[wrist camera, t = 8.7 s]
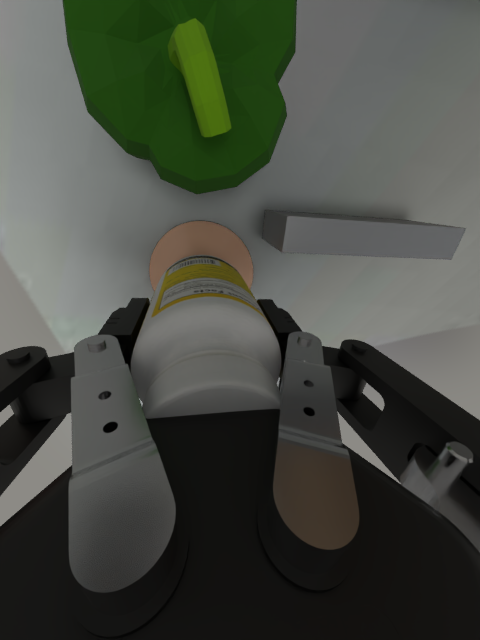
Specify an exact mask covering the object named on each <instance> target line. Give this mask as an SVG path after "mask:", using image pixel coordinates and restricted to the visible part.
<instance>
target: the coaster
mask: <svg viewBox="0 0 480 640" xmlns="http://www.w3.org/2000/svg"><path fill="white" fill-rule="evenodd" d="M193 255H210V256H214V257H218V258H220V259H222V260H224V261H226V262H228V263H229V264H231V265H232V266H233V267H234V268H235V269H236V270H237V271H238V272H239V274H240V275H241V276H242V278H243V279H244V281H245V283H246V284H247V286H248V288H249V289H250V288H251V285H252V280H253V264H252V260H251V257H250V254H249V252H248V250H247V248H246V246H245V245H244V243H243V242H242V241H241V239H240V238H239V237H238V236H237V235H236V234H235V233H233V232H232V231H231V230H229V229H228V228H226V227H224V226H222V225H220V224H217V223H213V222H209V221H191V222H186V223H183V224H180V225H178V226H176V227H174V228H173V229H171V230H170V231H168V232H167V233H166V234H165V235H164V236H163V237H162V238H161V239H160V241H159V242H158V243H157V245H156V247H155V248H154V251H153V253H152V256H151V260H150V267H149V273H150V280H151V284H152V287H153V290H154V292H155V289H156V287H157V285H158V283H159V280H160V278H161V277H162V275H163V274H164V272H165V271H166V270H167V269H168V268H169V267H170V266H171V265H172V264H174V263H175V262H177V261H178V260H180V259H183V258H185V257H189V256H193Z"/></svg>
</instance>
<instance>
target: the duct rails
mask: <svg viewBox="0 0 480 640" xmlns="http://www.w3.org/2000/svg"><path fill="white" fill-rule="evenodd" d="M465 230H466V228H460V227H453V226H446V225H438V224H431V223H424V222H416V221H409V220H397V219H383V218H370V217H356V216H342V215H328V214H314V213H301V212H287V211H273V210H265V216H264V225H263V235H262V239H264V240H265V241H267V242H268V243H269V244H271V245H272V246H274V247H275V248H276V249H278V250H279V251H280V252H282V253H303V254H327V255H351V256H375V257H399V258H423V259H447V260H451V259H452V257H453V255H454V253H455V251H456V249H457V247H458V245H459V243H460V241H461V238H462V236H463V234H464V232H465Z"/></svg>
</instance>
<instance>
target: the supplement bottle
mask: <svg viewBox="0 0 480 640" xmlns="http://www.w3.org/2000/svg"><path fill="white" fill-rule="evenodd" d="M280 370H281V352H280V347H279V343H278V340H277V338H276V336H275V333H274V331H273V329H272V327H271V325H270V324H269V322H268V320H267V319H266V317H265V315H264V314H263V312H262V310H261V308H260V307H259V305H258V303H257V301H256V300H255V298H254V296H253V295H252V293H251V291H250V289H249V288H248V286H247V284H246V283H245V281H244V279H243V278H242V276H241V275H240V274H239V272H238V271H237V270H236V269H235V268H234V267H233V266H232V265H231V264H229V263H228V262H226V261H224V260H222V259H220V258H218V257H214V256H210V255H193V256H189V257H185V258H183V259H180V260H178V261H177V262H175V263H174V264H172V265H171V266H170V267H169V268H168V269H167V270H166V271H165V272H164V274H163V275H162V277H161V278H160V280H159V283H158V285H157V287H156V289H155V292H154V295H153V298H152V300H151V303H150V305H149V308H148V311H147V313H146V316H145V319H144V321H143V324H142V327H141V329H140V332H139V335H138V337H137V340H136V343H135V346H134V349H133V353H132V358H131V369H130V371H131V376H132V379H133V382H134V385H135V388H136V391H137V394H138V397H139V398H140V400H141V401H142V402H143V406H142V409H143V412H144V415H145V418H147V419H153V418H163V417H174V416H186V415H198V414H209V413H221V412H234V411H248V410H263V409H279V407H280V399H281V395H280V392H279V389H278V386H277V384H276V383H277V381H278V378H279V375H280Z"/></svg>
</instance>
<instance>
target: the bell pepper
mask: <svg viewBox="0 0 480 640" xmlns="http://www.w3.org/2000/svg"><path fill="white" fill-rule="evenodd" d="M296 6H297V0H63V8H64V16H65V25H66V33H67V42H68V47H69V50H70V53H71V57H72V60H73V64H74V67H75V70H76V74H77V77H78V80H79V84H80V87H81V91H82V94H83V97H84V101H85V104H86V107H87V111H88V113H89V114H90V115H91V116H92V117H93V118H94V119H95V120H96V121H97V122H98V123H99V124H100V125H101V126H102V127H103V128H104V129H105V130H106V131H107V133H108V134H109V135H110V136H111V137H112V138H113V139H114V140H115V141H116V142H117V143H118V144H119V145H120V146H121V147H122V148H123V149H124V150H125V151H126V152H127V153H128V154H130V155H133V156H135V157H137V158H141V159H145V160H150V161H151V162H152V164H153V166H154V167H155V169H156V171H157V173H158V174H159V176H160V178H161V179H162V180H165V181H167V182H169V183H172V184H174V185H176V186H179V187H181V188H183V189H186V190H188V191H190V192H193V193H195V194H201V193H206V192H211V191H217V190H222V189H227V188H232V187H237V186H238V185H239V184H241V183H242V182H243V181H245V180H246V179H247V178H249V177H250V176H252V175H253V174H254V173H256V172H257V171H258V170H260V169H261V168H262V167H264V166H265V165H266V164H268V163H269V162H270V159H271V156H272V154H273V151H274V148H275V146H276V143H277V140H278V138H279V135H280V133H281V130H282V127H283V125H284V122H285V119H286V117H287V113H286V106H285V101H284V99H283V96H282V93H281V91H280V88H279V86H278V83H279V81H280V79H281V77H282V75H283V73H284V72H285V70H286V68H287V66H288V64H289V62H290V61H291V59H292V57H293V55H294V53H295V43H296Z"/></svg>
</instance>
